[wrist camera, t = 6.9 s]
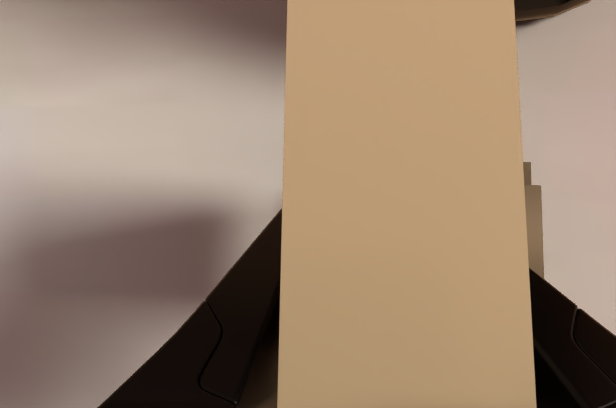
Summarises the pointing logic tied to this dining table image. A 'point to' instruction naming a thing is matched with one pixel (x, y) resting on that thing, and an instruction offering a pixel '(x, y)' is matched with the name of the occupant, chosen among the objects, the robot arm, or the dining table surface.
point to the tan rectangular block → (403, 208)
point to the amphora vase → (543, 8)
